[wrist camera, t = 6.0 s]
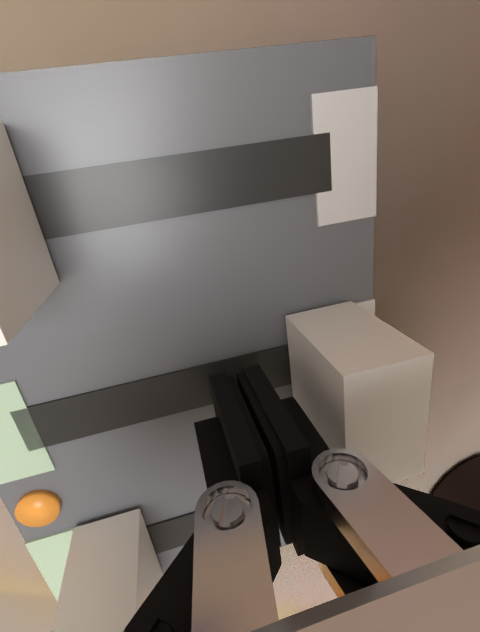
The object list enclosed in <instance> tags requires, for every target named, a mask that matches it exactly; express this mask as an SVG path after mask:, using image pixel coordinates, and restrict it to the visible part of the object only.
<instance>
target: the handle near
mask: <svg viewBox="0 0 480 632" xmlns="http://www.w3.org/2000/svg"><path fill="white" fill-rule="evenodd" d="M59 283H60V282H59V279H58V276H57V274H56V271H55V268H54V265H53V262H52V259H51V257H50V254H49V251H48V248H47V245H46V242H45V240H44V237H43V234H42V231H41V228H40V226H39V223H38V220H37V217H36V214H35V211H34V209H33V206H32V203H31V200H30V197H29V194H28V192H27V189H26V186H25V183H24V180H23V178H22V175H21V172H20V169H19V166H18V163H17V161H16V158H15V155H14V152H13V149H12V146H11V144H10V141H9V138H8V135H7V132H6V130H5V127H4V124H3V122H2V121H0V346H4V345H8V344H9V343H10V342H11V340H12V339H13V338H14V337H15V336H16V334H17V333H18V332H19V331H20V330H21V329H22V327H23V326H24V325H25V324H26V323H27V321H28V320H29V319H30V318H31V317H32V315H33V314H34V313H35V312H36V311H37V310H38V308H39V307H40V306H41V305H42V304H43V302H44V301H45V300H46V299H47V298H48V296H49V295H50V294H51V293H52V292H53V291H54V289H55V288H56V287H57V286H58V285H59Z"/></svg>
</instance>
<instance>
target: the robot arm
mask: <svg viewBox="0 0 480 632" xmlns="http://www.w3.org/2000/svg"><path fill="white" fill-rule="evenodd" d="M236 377H237V383H236V381H235V379H234V377H233V375H228V376H227V375H226V373H225V372H221V373H217V374H213V375H209V376H208V378H209V384H210V389H211V394H212V399H213V405H214V410H215V415H216V417H213V418H209V419H205V420H201V421H198V422H194V426H195V431H196V436H197V441H198V446H199V451H200V456H201V461H202V466H203V471H204V476H205V481H206V486H207V490H206V491H205V492H204V493H203V494H202V495H201V496H200V498H199V500H198V502H197V503H196V508H195V518H194V532H193V534H192V535H191V537H190V538H189V539H188V541H187V542H186V544H185V545H184V546H183V548H182V549H181V551H180V552H179V553H178V555H177V556H176V558H175V559H174V560H173V562H172V563H171V565H170V566H169V567H168V569H167V570H166V572H165V573H164V574H163V576H162V577H161V578H160V580H159V581H158V583H157V584H156V585H155V587H154V588H153V590H152V591H151V592H150V594H149V595H148V597H147V598H146V599H145V601H144V602H143V604H142V605H141V606H140V608H139V609H138V611H137V612H136V613H135V615H134V616H133V618H132V619H131V620H130V622H129V623H128V625H127V626H126V627H125V629H124V631H123V632H480V511H478V510H475V509H473V508H470V507H468V506H465V505H462V504H459V503H456V502H452V501H449V500H446V499H443V498H440V497H436V496H433V495H430V494H427V493H423V492H420V491H417V490H414V489H411V488H407V487H404V486H401V485H398V484H395V483H392V482H391V481H390V480H389V479H388V478H387V477H386V476H385V475H384V474H383V473H381V472H380V471H379V470H378V469H377V468H376V467H375V466H374V465H373V464H372V463H371V462H370V461H369V460H368V459H367V458H365V457H364V456H362V455H361V454H360V453H357V452H355V451H352V450H349V449H343V448H338V449H330V448H329V447H328V445H327V444H326V443H325V441H324V440H323V438H322V437H321V435H320V434H319V432H318V431H317V430H316V428H315V427H314V425H313V424H312V422H311V421H310V419H309V418H308V417H307V415H306V414H305V412H304V411H303V409H302V408H301V406H300V405H299V404H298V402H297V401H296V399H295V398H294V397H288V398H285V399H280V397H279V396H278V394H277V393H276V391H275V389H274V388H273V386H272V385H271V383H270V381H269V380H268V378H267V377H266V375H265V373H264V372H263V370H262V369H261V367H260V365H259V364H255V365H250V366H246V367H242V368H241V373H237V374H236ZM237 384H238V385H237ZM279 529H280V531H279ZM280 532H281V534H282V537H283V539H284V542H285V544H286V545H287V544H290V543H293V545H294V548H295V550H296V553H297V555H298V556H300V555H303V554H305V556H307V557H309V558H311V559H313V560H316V561H318V562H319V567H320V569H321V571H322V573H323V575H324V577H325V578H326V580H327V581H328V583H329V585H330V586H331V588H332V589H333V591H334V593H335V594H336V596H337V597H338V598H336V599H334V600H331V601H328V602H326V603H323V604H321V605H318V606H315V607H313V608H310V609H307V610H305V611H302V612H300V613H297V614H294V615H292V616H289V617H287V618H284V619H281V620H279V619H278V614H277V608H276V602H275V596H274V590H273V582H274V579H275V577H276V575H277V573H278V571H279V568H280V566H281V564H282V563H281V555H280V548H279V547H281V539H280Z"/></svg>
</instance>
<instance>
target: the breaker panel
mask: <svg viewBox="0 0 480 632" xmlns="http://www.w3.org/2000/svg"><path fill="white" fill-rule="evenodd" d="M377 104H378V86H376V35H375V36H365V37H355V38H345V39H335V40H325V41H315V42H305V43H295V44H285V45H275V46H265V47H255V48H245V49H235V50H225V51H215V52H205V53H195V54H185V55H175V56H165V57H155V58H145V59H135V60H125V61H115V62H105V63H95V64H85V65H75V66H65V67H55V68H45V69H35V70H25V71H15V72H5V73H0V121H2V122H3V124H4V127H5V130H6V132H7V135H8V138H9V141H10V144H11V146H12V149H13V152H14V155H15V158H16V161H17V163H18V166H19V169H20V172H21V175H22V178H23V180H24V183H25V186H26V189H27V192H28V194H29V197H30V200H31V203H32V206H33V209H34V211H35V214H36V217H37V220H38V223H39V226H40V228H41V231H42V234H43V237H44V240H45V242H46V245H47V248H48V251H49V254H50V257H51V259H52V262H53V265H54V268H55V271H56V274H57V276H58V279H59V282H60V283H59V285H58V286H57V287H56V288H55V289H54V291H53V292H52V293H51V294H50V295H49V296H48V298H47V299H46V300H45V301H44V302H43V304H42V305H41V306H40V307H39V308H38V310H37V311H36V312H35V313H34V314H33V315H32V317H31V318H30V319H29V320H28V321H27V323H26V324H25V325H24V326H23V327H22V329H21V330H20V331H19V332H18V333H17V334H16V336H15V337H14V338H13V339H12V340H11V342H10V343H9V344H8V345H4V346H0V497H1V499H2V501H3V502H4V504H5V506H6V508H7V509H8V511H9V513H10V515H11V517H12V518H13V520H14V522H15V524H16V525H17V527H18V529H19V531H20V533H21V534H22V536H23V538H24V540H25V541H26V542H25V546H26V547H27V549H28V551H29V553H30V554H31V556H32V558H33V560H34V561H35V563H36V565H37V567H38V568H39V570H40V572H41V574H42V576H43V577H44V579H45V581H46V583H47V584H48V586H49V588H50V590H51V591H52V593H53V595H54V597H55V598H56V600H57V602H58V598H59V593H60V588H61V584H62V579H63V575H64V570H65V566H66V561H67V556H68V552H69V547H70V543H71V538H72V534H73V529H74V528H75V527H78V526H82V525H85V524H89V523H92V522H95V521H99V520H102V519H106V518H109V517H112V516H116V515H119V514H123V513H126V512H129V511H133V510H136V509H139V508H140V511H141V514H142V516H143V519H144V522H145V525H146V528H147V530H148V533H149V536H150V539H151V542H152V545H153V547H154V550H155V553H156V556H157V559H158V562H159V564H160V567H161V570H162V573H163V574H164V573H165V572H166V570H167V569H168V567H169V566H170V565H171V563H172V562H173V560H174V559H175V558H176V556H177V555H178V553H179V552H180V551H181V549H182V548H183V546H184V545H185V544H186V542H187V541H188V539H189V538H190V537H191V535H192V534H193V532H194V518H195V508H196V503H197V502H198V500H199V498H200V496H201V495H202V494H203V493H204V492H205V491H206V490H207V486H206V481H205V476H204V471H203V466H202V461H201V456H200V451H199V446H198V441H197V436H196V431H195V426H194V422H198V421H201V420H205V419H209V418H213V417H216V415H215V410H214V405H213V399H212V394H211V389H210V384H209V378H208V376H209V375H213V374H217V373H221V372H225V373H226V375H227V376H228V375H233V377H234V379H235V381H236V383H237V377H236V374H237V373H241V368H242V367H246V366H250V365H255V364H259V365H260V367H261V369H262V370H263V372H264V373H265V375H266V377H267V378H268V380H269V381H270V383H271V385H272V386H273V388H274V389H275V391H276V393H277V394H278V396H279V397H280V399H285V398H288V397H293V392H292V381H291V371H290V361H289V350H288V340H287V329H286V319H285V316H286V315H290V314H295V313H299V312H304V311H308V310H312V309H317V308H321V307H326V306H330V305H335V304H339V303H344V302H348V301H352V302H354V303H355V304H357V305H358V306H360V307H362V308H363V309H365V310H366V311H368V312H370V313H371V314H373V315H374V316H375V299H374V216H376V187H377ZM237 385H238V384H237ZM279 531H280V529H279ZM280 539H281V547H282V546H285V545H286V544H285V542H284V539H283V537H282V534H281V532H280ZM290 544H292V543H290ZM287 545H288V544H287Z"/></svg>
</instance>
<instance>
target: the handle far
mask: <svg viewBox="0 0 480 632" xmlns="http://www.w3.org/2000/svg"><path fill="white" fill-rule="evenodd" d="M162 576H163V573H162V570H161V567H160V564H159V562H158V559H157V556H156V553H155V550H154V547H153V545H152V542H151V539H150V536H149V533H148V530H147V528H146V525H145V522H144V519H143V516H142V514H141V511H140V508H139V509H136V510H133V511H129V512H126V513H123V514H119V515H116V516H112V517H109V518H106V519H102V520H99V521H95V522H92V523H89V524H85V525H82V526H78V527H75V528H74V529H73V534H72V538H71V543H70V547H69V552H68V556H67V561H66V566H65V570H64V575H63V579H62V584H61V588H60V593H59V598H58V602H57V607H56V612H55V616H54V620H53V626H52V630H51V632H123V631H124V629H125V627H126V626H127V625H128V623H129V622H130V620H131V619H132V618H133V616H134V615H135V613H136V612H137V611H138V609H139V608H140V606H141V605H142V604H143V602H144V601H145V599H146V598H147V597H148V595H149V594H150V592H151V591H152V590H153V588H154V587H155V585H156V584H157V583H158V581H159V580H160V578H161V577H162Z"/></svg>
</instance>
